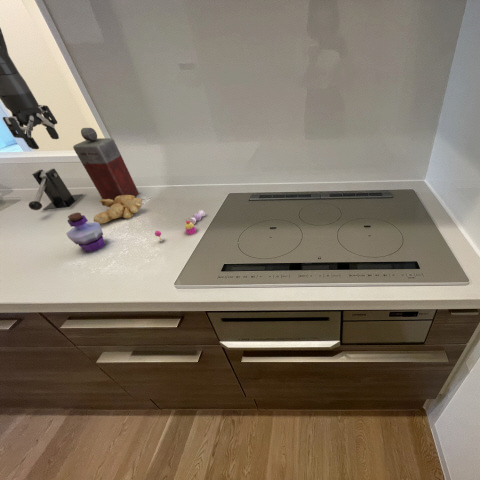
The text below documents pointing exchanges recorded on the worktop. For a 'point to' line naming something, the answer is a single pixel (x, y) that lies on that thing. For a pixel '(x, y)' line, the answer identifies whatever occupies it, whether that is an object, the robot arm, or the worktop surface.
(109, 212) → the ginger root
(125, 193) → the red square bottle
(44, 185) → the tap lever
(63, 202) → the lever switch
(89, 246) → the potion bottle
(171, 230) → the worktop surface
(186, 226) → the pink and purple pieces
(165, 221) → the worktop surface
